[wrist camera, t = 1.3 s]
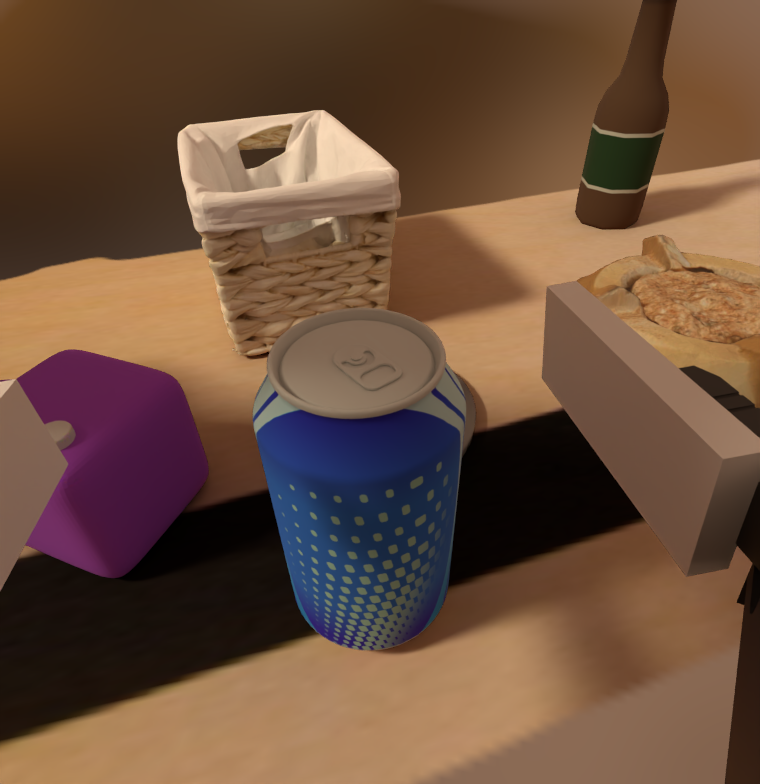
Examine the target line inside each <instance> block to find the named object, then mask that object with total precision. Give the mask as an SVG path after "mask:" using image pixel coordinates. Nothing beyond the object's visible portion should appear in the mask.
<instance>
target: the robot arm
mask: <svg viewBox="0 0 760 784" xmlns="http://www.w3.org/2000/svg"><path fill="white" fill-rule="evenodd" d="M542 379H543V380H544V382H545V383H546V384H547V386H548V387H549V389H550V390H551V391H552V393H553V394H554V395H555V397H556V398H557V400H558V401H559V402H560V404H561V405H562V406H563V408H564V409H565V411H566V412H567V413H568V415H569V416H570V417H571V419H572V420H573V422H574V423H575V424H576V426H577V427H578V428H579V430H580V431H581V433H582V434H583V435H584V437H585V438H586V439H587V441H588V442H589V444H590V445H591V446H592V448H593V449H594V450H595V452H596V453H597V455H598V456H599V457H600V459H601V460H602V461H603V463H604V464H605V466H606V467H607V468H608V470H609V471H610V472H611V474H612V475H613V477H614V478H615V479H616V481H617V482H618V483H619V485H620V486H621V488H622V489H623V490H624V492H625V493H626V494H627V496H628V497H629V499H630V500H631V501H632V503H633V504H634V505H635V507H636V508H637V510H638V511H639V512H640V514H641V515H642V516H643V518H644V519H645V521H646V522H647V523H648V525H649V526H650V527H651V529H652V530H653V532H654V533H655V534H656V536H657V537H658V538H659V540H660V541H661V543H662V544H663V545H664V547H665V548H666V549H667V551H668V552H669V554H670V555H671V556H672V558H673V559H674V560H675V562H676V563H677V565H678V566H679V567H680V569H681V570H682V571H683V573H684V574H685V576H686V577H687V576H692V575H697V574H702V573H707V572H712V571H717V570H722V569H728V567H729V565H730V562H731V560H732V557H733V554H734V552H735V549H736V546H738V547H739V548H740V549H741V550H742V551H743V553H744V554H745V555H746V556H747V557H748V558H749V559H750V561H751V562H752V563H753V564H752V566H751V569H750V571H749V573H748V576H747V578H746V581H745V583H744V585H743V588H742V590H741V593H740V595H739V597H738V600H737V603H740V604H742V605H744V613H743V622H742V631H741V640H740V649H739V659H738V668H737V677H736V686H735V695H734V704H733V714H732V722H731V732H730V741H729V749H728V759H727V768H726V778H725V784H760V408H756V407H755V404H754V403H753V402H751V401H750V400H749V399H747V398H746V397H745V396H744V395H739V391H737V390H736V389H735V388H734V387H732V386H731V385H730V384H729V383H727V382H726V381H725V380H724V379H722V378H721V377H719V376H717V375H715V374H713V373H710V372H708V371H706V370H703V369H701V368H699V367H696V366H694V365H693V366H688V367H683V368H677V367H676V366H675V365H674V364H673V363H672V362H670V361H669V360H668V359H667V358H666V357H665V356H663V355H662V354H661V353H660V352H659V351H658V350H656V349H655V348H654V347H653V346H652V345H651V344H649V343H648V342H647V341H646V340H645V339H644V338H642V337H641V336H640V335H639V334H638V333H637V332H635V331H634V330H633V329H632V328H631V327H630V326H628V325H627V324H626V323H625V322H624V321H623V320H621V319H620V318H619V317H618V316H617V315H616V314H614V313H613V312H612V311H611V310H610V309H609V308H607V307H606V306H605V305H604V304H603V303H602V302H600V301H599V300H598V299H597V298H596V297H595V296H593V295H592V294H591V293H590V292H589V291H588V290H586V289H585V288H584V287H583V286H582V285H581V284H579V283H578V282H577V281H573V282H568V283H562V284H556V285H551V286H547V292H546V311H545V329H544V348H543V367H542ZM67 466H68V462H67V461H66V459H65V458H64V456H63V454H62V453H61V451H60V449H59V448H58V446H57V445H56V443H55V441H54V440H53V438H52V436H51V435H50V433H49V431H48V430H47V428H46V427H45V425H44V423H43V422H42V420H41V418H40V417H39V415H38V413H37V412H36V410H35V409H34V407H33V405H32V404H31V402H30V400H29V399H28V397H27V396H26V394H25V392H24V391H23V389H22V387H21V386H20V384H19V382H18V381H17V379H14V380H8V381H2V382H0V591H1V589H2V587H3V585H4V583H5V581H6V579H7V578H8V576H9V574H10V572H11V570H12V568H13V566H14V565H15V563H16V561H17V559H18V557H19V555H20V553H21V552H22V550H23V548H24V546H25V544H26V542H27V540H28V539H29V537H30V535H31V533H32V531H33V529H34V527H35V526H36V524H37V522H38V520H39V518H40V516H41V514H42V513H43V511H44V509H45V507H46V505H47V503H48V501H49V499H50V498H51V496H52V494H53V492H54V490H55V488H56V486H57V485H58V483H59V481H60V479H61V477H62V475H63V473H64V472H65V470H66V468H67Z"/></svg>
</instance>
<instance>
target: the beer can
mask: <svg viewBox="0 0 760 784" xmlns="http://www.w3.org/2000/svg"><path fill="white" fill-rule="evenodd" d="M465 421H466V400H465V396H464V392H463V389H462V387H461V384H460V382H459V380H458V378H457V377H456V375H455V374H454V372H453V371H452V370H451V368H450V367H449V365H448V364H447V363H446V353H445V349H444V346H443V344H442V342H441V340H440V339H439V337H438V336H437V335H436V333H435V332H434V331H433V330H432V329H430V328H429V327H428V326H427V325H425V324H424V323H422V322H420V321H418V320H417V319H415V318H412V317H410V316H407V315H405V314H402V313H398V312H394V311H390V310H384V309H376V308H348V309H340V310H334V311H329V312H325V313H322V314H319V315H315V316H313V317H310V318H308V319H305V320H303V321H301V322H299V323H298V324H296V325H294V326H293V327H291V328H290V329H288V330H287V331H286V332H284V333H283V334H282V335H281V336H280V337H279V338H278V339H277V340H276V342H275V343H274V344H273V346H272V348H271V350H270V352H269V355H268V359H267V375H266V377H265V379H264V381H263V383H262V384H261V386H260V388H259V390H258V392H257V395H256V398H255V402H254V407H253V426H254V431H255V435H256V439H257V443H258V447H259V451H260V455H261V459H262V463H263V468H264V472H265V476H266V480H267V484H268V488H269V492H270V496H271V500H272V504H273V508H274V512H275V516H276V520H277V525H278V529H279V533H280V537H281V541H282V545H283V549H284V553H285V557H286V561H287V565H288V569H289V573H290V577H291V581H292V586H293V590H294V594H295V598H296V601H297V604H298V607H299V609H300V611H301V613H302V614H303V616H304V618H305V619H306V621H307V622H308V623H309V624H310V625H311V627H312V628H313V629H314V630H316V631H317V632H318V633H319V634H320V635H322V636H323V637H324V638H326V639H328V640H329V641H331V642H333V643H335V644H338V645H340V646H343V647H346V648H350V649H356V650H367V651H372V650H382V649H388V648H391V647H395V646H398V645H400V644H403V643H405V642H407V641H409V640H411V639H412V638H414V637H416V636H417V635H418V634H420V633H421V632H422V631H424V630H425V629H426V628H427V627H428V626H429V625H430V624H431V622H432V621H433V620H434V619H435V617H436V616H437V614H438V613H439V611H440V609H441V607H442V605H443V603H444V600H445V598H446V594H447V590H448V583H449V573H450V564H451V554H452V545H453V535H454V526H455V516H456V507H457V497H458V488H459V478H460V469H461V459H462V449H463V440H464V430H465Z"/></svg>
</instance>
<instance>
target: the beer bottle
mask: <svg viewBox="0 0 760 784" xmlns="http://www.w3.org/2000/svg"><path fill="white" fill-rule="evenodd" d="M676 2H677V0H643V2H642V5H641V9H640V12H639V16H638V19H637V23H636V26H635V30H634V33H633V37H632V40H631V44H630V47H629V51H628V54H627V58H626V61H625V63H624V66H623V68H622V71H621V73H620V76H619V77H618V78H617V79H616V80H615V81H614V83H613V84H612V85H611V86H610V87H609V88H608V90H607V91H606V92H605V94H604V96H603V98H602V100H601V101H600V103H599V105H598V108H597V111H596V115H595V119H594V122H593V126H592V131H591V136H590V140H589V145H588V150H587V155H586V160H585V164H584V169H583V174H582V178H581V183H580V188H579V193H578V197H577V204H576V211H575V212H576V215H577V217H578V218H579V220H580V221H581V223H583V224H586V225H589V226H593V227H596V228H599V229H625V228H627V227H628V226H630V225H632V224H633V223H635V222H636V221H637V220H638V217H639V214H640V212H641V209H642V206H643V203H644V199H645V196H646V192H647V189H648V185H649V182H650V179H651V175H652V172H653V168H654V165H655V161H656V158H657V155H658V151H659V148H660V144H661V141H662V137H663V134H664V131H665V126H666V122H667V117H668V113H669V101H668V92H667V90H666V87H665V84H664V81H663V78H662V76H663V66H664V58H665V54H666V49H667V44H668V40H669V35H670V30H671V25H672V20H673V16H674V11H675V7H676Z"/></svg>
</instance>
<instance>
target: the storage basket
mask: <svg viewBox="0 0 760 784" xmlns="http://www.w3.org/2000/svg"><path fill="white" fill-rule="evenodd" d="M277 147H286V151H285V152H284V153H283V154H281V155H280V156H277V157H276V158H273V159H271V160H269V161H268V162H266V163H264V164H263V165H261V166H259V167H257V168H252V169H247V170H246V169H245V168H244V165H243V163H242V159H241V156H240V152H239V150H247V149H262V148H277ZM178 153H179V161H180V167H181V175H182V180H183V183H184V186H185V189H186V193H187V200H188V203H189V207H190V210H191V213H192V216H193V222H194V227H195V229H196V230H197V231H198V232H199V234H200V235H201V236H202V237H203V239H202V246H203V249H204V252H205V254H206V256H207V257H208V258H210V260H209V266H210V268H211V269H212V271H213V276H214V279H215V283H216V287H217V289H216V290H217V294H218V296H219V300H220V305H221V311H222V313H223V315H224V317H223V318H224V321H225V324H226V326H227V330H228V333H229V336H230V337H231V339H232V340H233V341H234V344H235V348H236V349H234V348H233V349H232V351H236V352H237V353H238V354H240V355H242V356H245V355H249V356H252V355H259V354H263V353H266V352H270V350H271V348H272V346H273V344H274V343H275V342H276V340H277V339H278V338H279V337H280V336H281V335H282V334H283V333H284V332H286V331H287V330H288V329H290V328H291V327H293V326H294V325H296V324H298V323H299V322H301V321H303V320H305V319H308V318H310V317H313V316H315V315H319V314H322V313H325V312H329V311H334V310H340V309H348V308H376V309H384V310H387V309H388V302H389V292H390V269H391V267H392V261H391V256H392V251H393V250H392V246H391V245H392V242H393V238H394V235H395V221H396V218H397V212H396V209H398V208H400V198H401V195H400V191H399V187H398V183H399V173H398V171H397V170H396V169H395V168H393V166H391V165H390V164H389V163H388V162H387V161H386V160H385V159H384V158H383V157H382V156H381V155H380V154H379V153H377V152H376V151H375V150H374V149H372V148H371V147H370V146H368V145H367V144H366V143H365V142H364V141H362V140H361V139H359V138H358V137H357V136H356V135H354V134H353V133H352V132H351V131H349V130H348V129H347V128H346V127H345V126H344V125H343V124H341V123H340V122H339V121H338V120H337V119H335V118H334V117H333V116H331V115H330V114H328V113H327V112H326V111H324V110H320V111H319V110H318V111H316V110H315V111H310V112H305V113H293V114H283V115H274V116H263V117H254V118H245V119H237V120H230V121H222V122H214V123H203V124H194V125H188V126H187V127H186V128H184V129H183V130H182V131H180V132H179V134H178Z"/></svg>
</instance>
